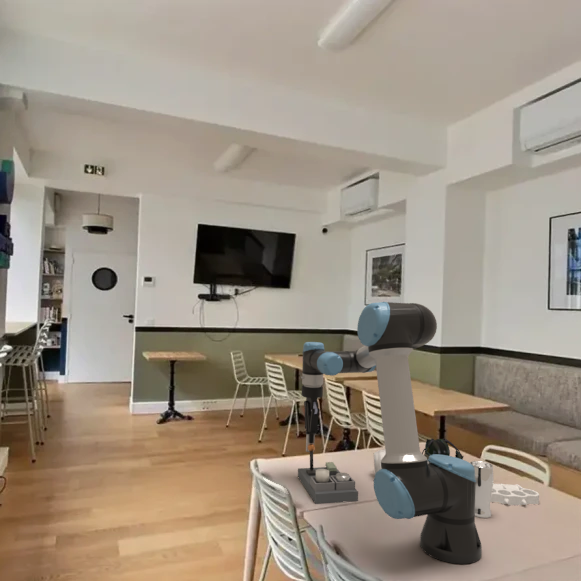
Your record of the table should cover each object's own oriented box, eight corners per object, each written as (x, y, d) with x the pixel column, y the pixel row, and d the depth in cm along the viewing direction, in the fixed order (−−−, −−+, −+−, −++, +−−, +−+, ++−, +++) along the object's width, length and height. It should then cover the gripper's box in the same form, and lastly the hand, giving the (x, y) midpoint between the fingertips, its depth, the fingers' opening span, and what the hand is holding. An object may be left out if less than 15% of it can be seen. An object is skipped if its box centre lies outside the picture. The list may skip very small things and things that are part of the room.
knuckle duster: (526, 492, 167) (546, 510, 153) (473, 489, 168) (487, 507, 154) (526, 482, 167) (546, 499, 153) (473, 479, 169) (487, 496, 154)
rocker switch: (336, 471, 170) (336, 467, 170) (328, 471, 169) (329, 468, 169) (332, 465, 174) (333, 462, 174) (325, 465, 174) (325, 462, 173)
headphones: (407, 444, 200) (431, 468, 181) (431, 422, 201) (457, 443, 182) (426, 465, 203) (451, 490, 184) (449, 443, 204) (476, 466, 185)
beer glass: (478, 519, 143) (478, 468, 144) (463, 510, 150) (464, 461, 151) (498, 517, 145) (498, 467, 146) (483, 508, 152) (483, 459, 152)
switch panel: (357, 501, 155) (358, 483, 155) (315, 503, 152) (316, 486, 152) (334, 474, 178) (335, 459, 179) (297, 476, 175) (298, 461, 175)
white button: (330, 482, 156) (330, 473, 156) (317, 483, 155) (317, 473, 155) (326, 477, 160) (327, 468, 160) (313, 478, 159) (314, 469, 159)
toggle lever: (316, 471, 169) (315, 444, 171) (309, 471, 169) (308, 444, 171) (314, 470, 172) (313, 443, 174) (307, 470, 171) (306, 443, 173)
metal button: (351, 486, 157) (351, 476, 158) (338, 487, 157) (338, 477, 157) (346, 481, 162) (346, 472, 162) (334, 482, 161) (334, 472, 161)
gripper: (297, 382, 179) (295, 445, 179) (306, 389, 167) (304, 457, 166) (317, 381, 181) (315, 445, 181) (327, 388, 168) (325, 456, 168)
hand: (310, 451), depth 174 cm, fingers closed
